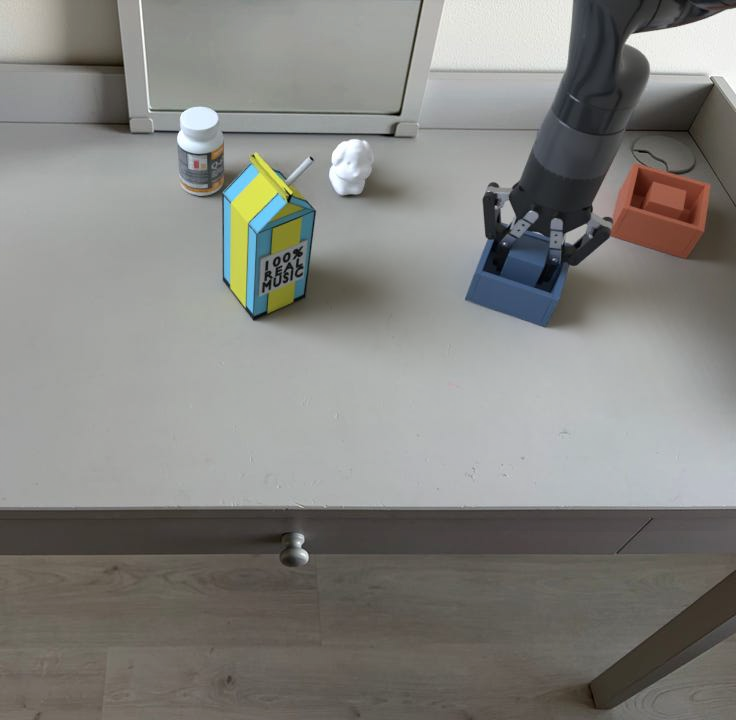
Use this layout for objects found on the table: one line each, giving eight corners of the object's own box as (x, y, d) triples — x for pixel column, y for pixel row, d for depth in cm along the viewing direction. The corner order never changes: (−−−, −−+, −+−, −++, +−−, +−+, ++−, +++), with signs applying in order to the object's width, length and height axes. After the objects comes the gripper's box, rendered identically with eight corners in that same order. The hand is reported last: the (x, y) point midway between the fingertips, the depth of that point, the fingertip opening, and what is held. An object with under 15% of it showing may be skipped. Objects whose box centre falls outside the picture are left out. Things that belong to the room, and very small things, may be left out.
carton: (312, 296, 89) (329, 171, 75) (254, 322, 87) (260, 198, 72) (278, 255, 93) (288, 129, 79) (222, 279, 91) (221, 153, 76)
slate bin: (561, 272, 93) (575, 245, 89) (545, 327, 88) (559, 300, 84) (484, 248, 95) (495, 220, 91) (464, 300, 90) (474, 272, 86)
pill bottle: (223, 198, 99) (222, 133, 91) (178, 197, 99) (173, 132, 91) (224, 169, 102) (224, 104, 94) (181, 168, 102) (177, 102, 94)
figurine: (330, 206, 99) (338, 155, 92) (321, 166, 103) (327, 115, 97) (372, 204, 99) (382, 154, 93) (361, 164, 104) (370, 113, 97)
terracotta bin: (693, 212, 100) (711, 184, 97) (686, 259, 95) (704, 231, 91) (619, 190, 102) (634, 162, 99) (608, 235, 97) (623, 207, 93)
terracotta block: (671, 215, 99) (686, 190, 96) (668, 234, 97) (683, 210, 93) (639, 205, 100) (653, 181, 97) (635, 225, 98) (649, 200, 94)
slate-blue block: (540, 268, 90) (551, 243, 87) (532, 291, 88) (544, 266, 85) (506, 257, 91) (516, 232, 88) (498, 279, 89) (508, 255, 86)
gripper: (492, 152, 75) (451, 274, 89) (642, 196, 72) (575, 316, 86) (509, 111, 80) (468, 233, 93) (652, 150, 76) (587, 271, 90)
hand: (520, 272), depth 90 cm, fingers closed on slate-blue block, 4 cm apart
